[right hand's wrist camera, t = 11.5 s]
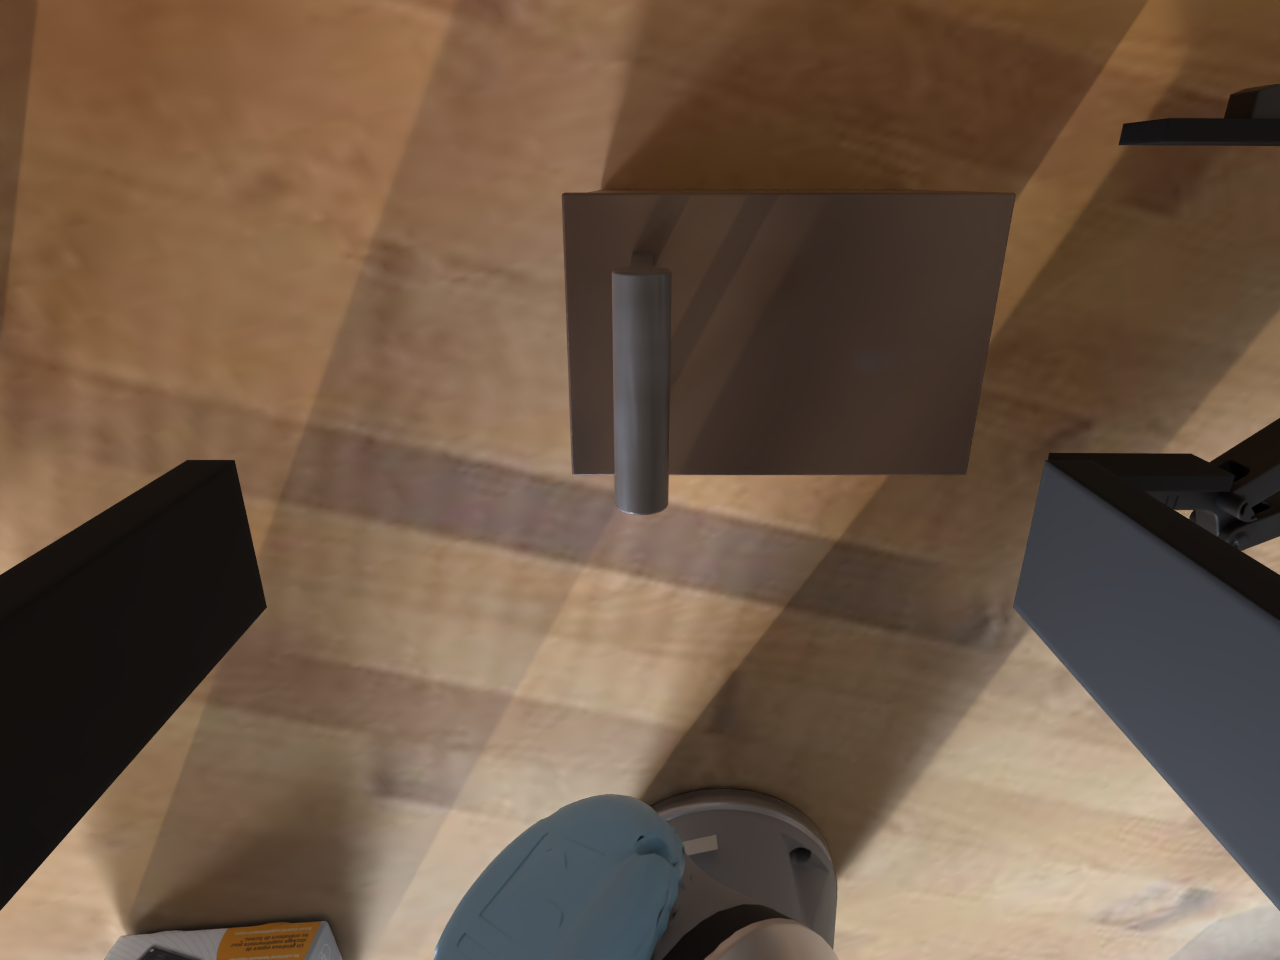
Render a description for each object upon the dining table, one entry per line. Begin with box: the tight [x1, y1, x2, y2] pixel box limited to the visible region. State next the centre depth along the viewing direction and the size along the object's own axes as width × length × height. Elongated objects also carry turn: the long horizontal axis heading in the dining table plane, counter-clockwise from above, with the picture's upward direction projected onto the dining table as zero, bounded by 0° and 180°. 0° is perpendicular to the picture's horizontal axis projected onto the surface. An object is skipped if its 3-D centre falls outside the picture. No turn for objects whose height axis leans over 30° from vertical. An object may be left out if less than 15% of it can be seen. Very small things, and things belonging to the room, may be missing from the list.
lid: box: [562, 193, 1015, 515], centre depth 23 cm, size 15×10×9 cm
